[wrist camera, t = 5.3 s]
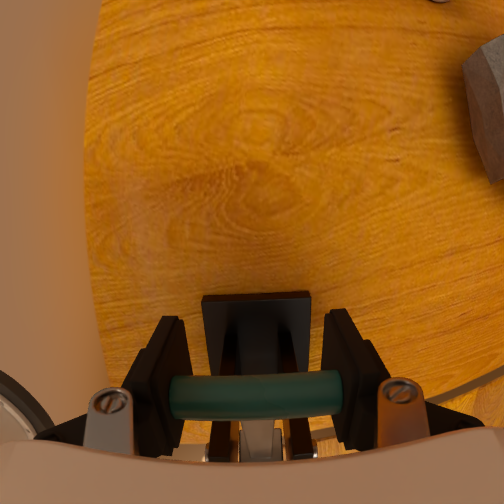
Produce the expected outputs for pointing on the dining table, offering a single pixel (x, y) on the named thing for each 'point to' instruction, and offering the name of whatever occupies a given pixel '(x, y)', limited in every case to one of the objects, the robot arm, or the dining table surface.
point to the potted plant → (487, 104)
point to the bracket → (258, 357)
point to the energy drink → (441, 0)
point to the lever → (256, 404)
